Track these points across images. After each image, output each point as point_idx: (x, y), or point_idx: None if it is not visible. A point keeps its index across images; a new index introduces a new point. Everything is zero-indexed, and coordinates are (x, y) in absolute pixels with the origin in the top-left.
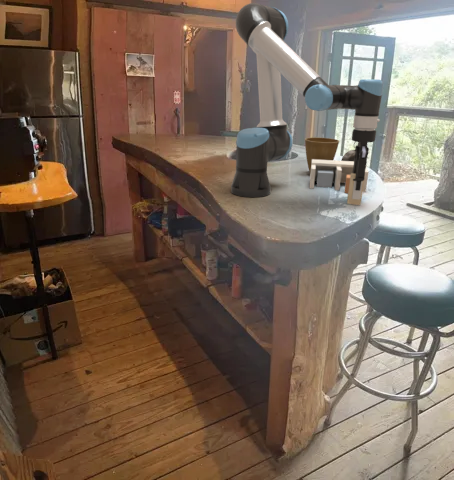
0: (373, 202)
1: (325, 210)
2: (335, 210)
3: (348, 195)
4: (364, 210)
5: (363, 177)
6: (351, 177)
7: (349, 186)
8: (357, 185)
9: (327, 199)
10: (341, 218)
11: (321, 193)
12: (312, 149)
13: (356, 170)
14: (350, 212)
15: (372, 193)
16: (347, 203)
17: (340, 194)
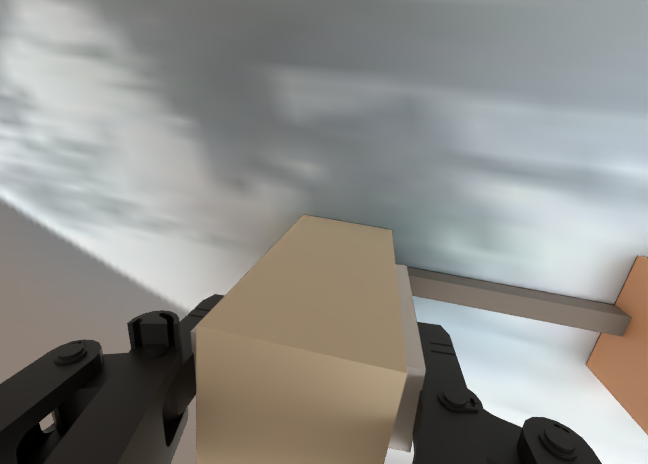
0: None
1: (113, 36)
2: (137, 110)
3: (287, 232)
4: (193, 286)
5: (48, 437)
6: (206, 320)
7: (295, 264)
8: (183, 328)
9: (409, 74)
10: (7, 128)
11: (638, 24)
12: None
13: (67, 460)
14: (130, 200)
15: (615, 444)
16: (302, 216)
17: (589, 211)
